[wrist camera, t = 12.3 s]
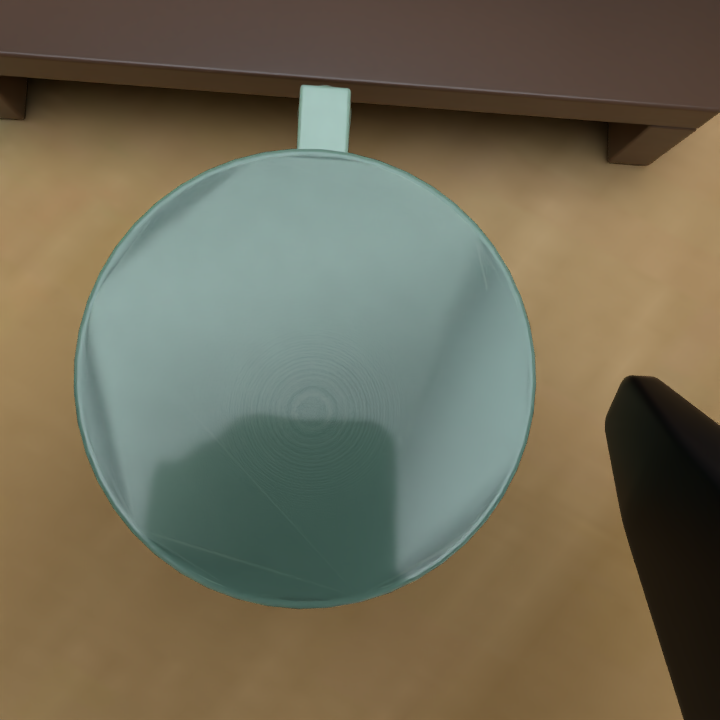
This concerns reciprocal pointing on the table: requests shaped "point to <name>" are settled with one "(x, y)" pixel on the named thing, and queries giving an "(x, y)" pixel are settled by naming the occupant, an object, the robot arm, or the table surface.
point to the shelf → (395, 55)
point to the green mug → (305, 373)
